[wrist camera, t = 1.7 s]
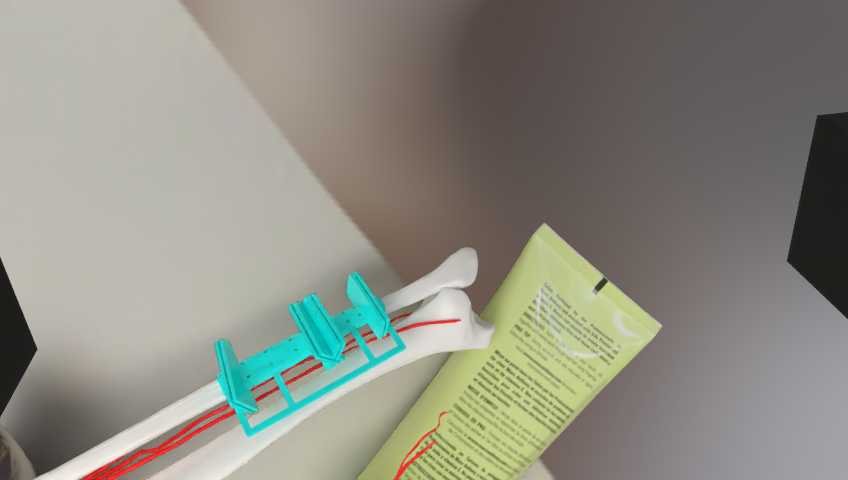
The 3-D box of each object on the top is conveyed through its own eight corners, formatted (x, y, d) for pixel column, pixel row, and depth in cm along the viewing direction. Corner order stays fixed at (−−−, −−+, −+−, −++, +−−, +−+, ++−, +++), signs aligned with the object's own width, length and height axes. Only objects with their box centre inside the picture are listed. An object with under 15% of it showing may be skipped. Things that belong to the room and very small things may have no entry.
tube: (326, 567, 37) (579, 259, 36) (389, 654, 34) (665, 324, 33) (252, 575, 32) (542, 220, 31) (319, 678, 29) (639, 292, 28)
